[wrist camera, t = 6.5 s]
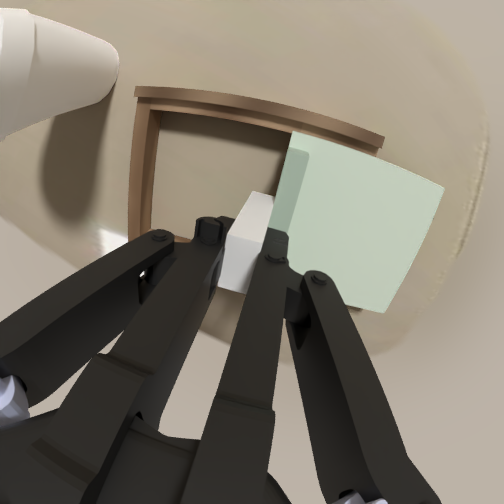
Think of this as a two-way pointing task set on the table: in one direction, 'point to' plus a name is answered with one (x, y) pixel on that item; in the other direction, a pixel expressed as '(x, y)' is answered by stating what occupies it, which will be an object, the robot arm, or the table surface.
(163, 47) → the table surface
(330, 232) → the cover
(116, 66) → the foam cup
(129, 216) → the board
